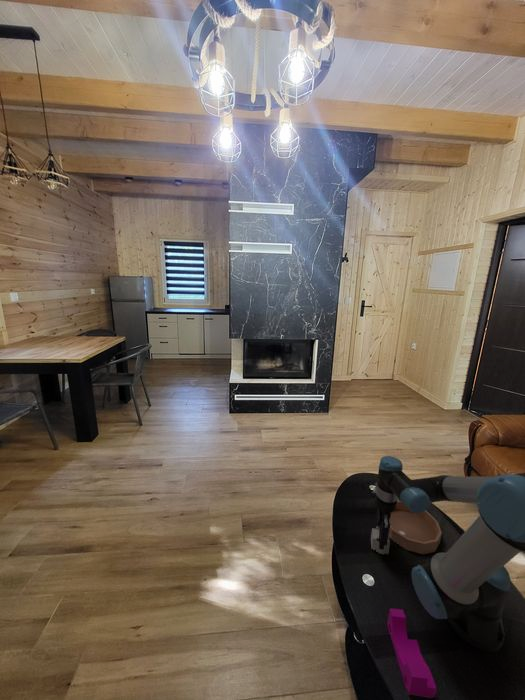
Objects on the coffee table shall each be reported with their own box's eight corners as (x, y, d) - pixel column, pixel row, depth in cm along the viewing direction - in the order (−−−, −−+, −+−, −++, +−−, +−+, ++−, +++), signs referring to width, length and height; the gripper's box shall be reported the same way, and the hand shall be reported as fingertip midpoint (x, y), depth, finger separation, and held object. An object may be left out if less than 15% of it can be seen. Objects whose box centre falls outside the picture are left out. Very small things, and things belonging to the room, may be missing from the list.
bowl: (446, 560, 106) (448, 549, 105) (384, 544, 112) (386, 534, 111) (430, 517, 126) (432, 507, 125) (379, 505, 132) (380, 496, 131)
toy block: (434, 701, 70) (438, 679, 68) (408, 698, 70) (412, 676, 68) (408, 629, 84) (411, 610, 83) (386, 627, 85) (389, 608, 83)
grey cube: (388, 555, 107) (390, 542, 106) (371, 551, 109) (373, 538, 108) (386, 544, 112) (388, 532, 111) (370, 540, 114) (372, 528, 112)
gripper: (401, 517, 96) (392, 571, 101) (393, 483, 113) (386, 531, 118) (377, 511, 98) (370, 565, 103) (373, 479, 115) (367, 526, 120)
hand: (379, 547), depth 110 cm, fingers closed on grey cube, 5 cm apart
